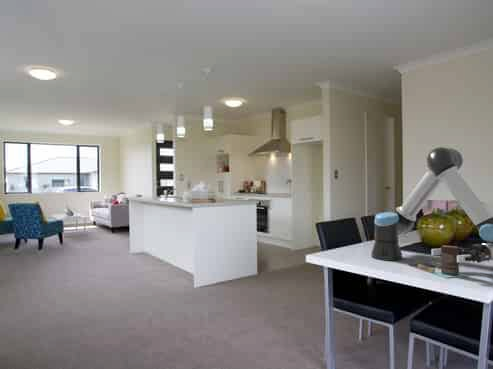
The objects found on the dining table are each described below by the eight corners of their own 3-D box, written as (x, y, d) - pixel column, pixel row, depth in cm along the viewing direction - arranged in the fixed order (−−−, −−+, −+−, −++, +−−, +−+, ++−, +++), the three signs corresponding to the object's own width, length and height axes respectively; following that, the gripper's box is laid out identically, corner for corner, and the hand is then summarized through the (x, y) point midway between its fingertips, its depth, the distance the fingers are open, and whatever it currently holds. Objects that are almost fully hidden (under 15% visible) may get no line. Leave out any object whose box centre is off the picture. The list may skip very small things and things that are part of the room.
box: (459, 274, 148) (459, 246, 148) (456, 276, 145) (456, 248, 144) (443, 271, 152) (443, 244, 152) (440, 273, 149) (440, 246, 149)
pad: (432, 273, 150) (432, 272, 150) (453, 271, 153) (453, 270, 153) (446, 278, 143) (446, 277, 143) (467, 276, 146) (467, 275, 146)
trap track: (408, 265, 165) (408, 261, 165) (427, 263, 168) (427, 259, 168) (432, 273, 150) (432, 269, 150) (453, 271, 153) (453, 267, 153)
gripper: (511, 267, 141) (469, 271, 135) (459, 254, 164) (422, 257, 159) (511, 249, 140) (469, 252, 135) (459, 239, 164) (422, 241, 159)
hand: (444, 255), depth 147 cm, fingers open, 13 cm apart
